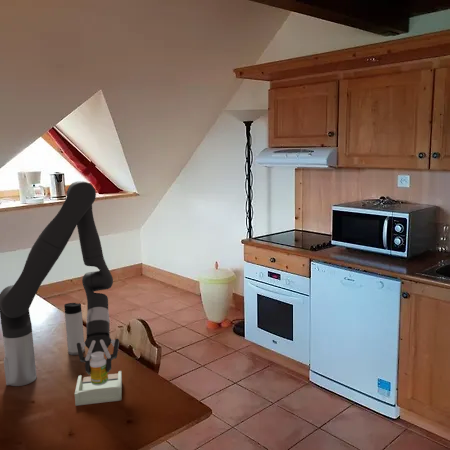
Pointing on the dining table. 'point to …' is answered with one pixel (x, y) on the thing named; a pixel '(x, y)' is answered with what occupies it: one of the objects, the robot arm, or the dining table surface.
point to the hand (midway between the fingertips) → (98, 372)
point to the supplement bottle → (98, 369)
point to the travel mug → (74, 327)
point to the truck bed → (98, 390)
